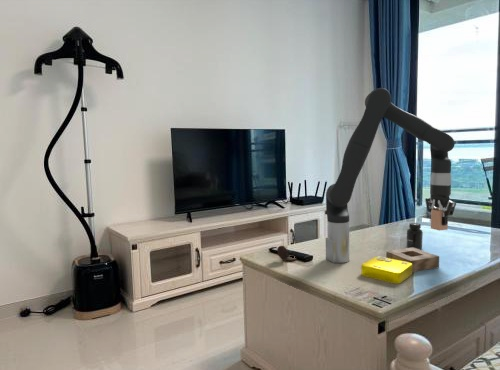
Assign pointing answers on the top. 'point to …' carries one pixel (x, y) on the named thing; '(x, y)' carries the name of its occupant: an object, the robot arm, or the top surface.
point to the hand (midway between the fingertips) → (439, 223)
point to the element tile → (386, 269)
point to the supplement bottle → (414, 236)
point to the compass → (284, 254)
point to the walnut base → (415, 258)
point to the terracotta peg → (437, 220)
